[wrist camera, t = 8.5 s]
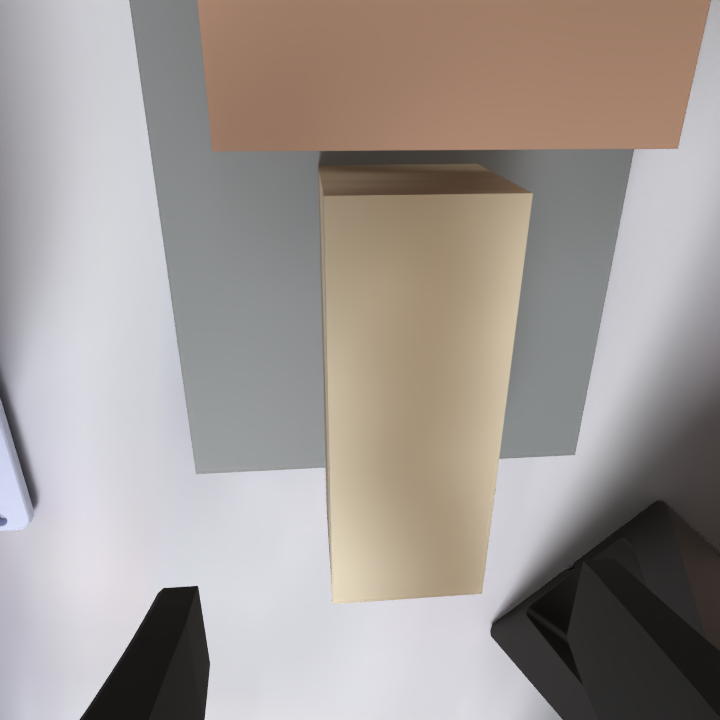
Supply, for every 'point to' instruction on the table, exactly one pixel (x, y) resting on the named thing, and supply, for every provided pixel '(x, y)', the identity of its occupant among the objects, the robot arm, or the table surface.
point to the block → (415, 370)
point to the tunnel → (448, 73)
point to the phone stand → (643, 560)
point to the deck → (303, 272)
